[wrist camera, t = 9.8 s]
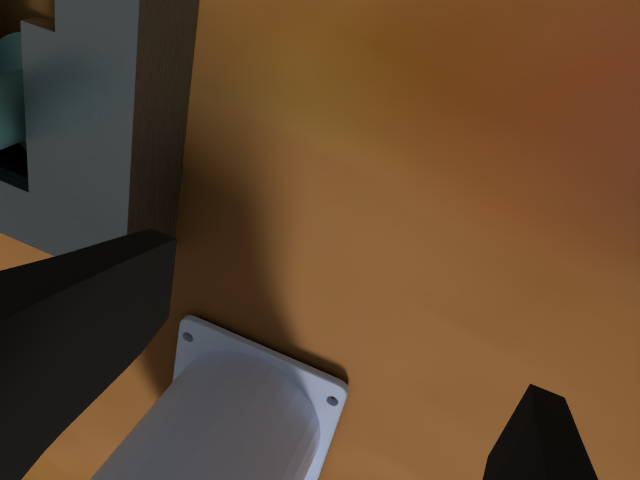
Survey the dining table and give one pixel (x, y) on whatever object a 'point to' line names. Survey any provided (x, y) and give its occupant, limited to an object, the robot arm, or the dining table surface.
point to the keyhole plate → (100, 123)
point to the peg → (12, 92)
